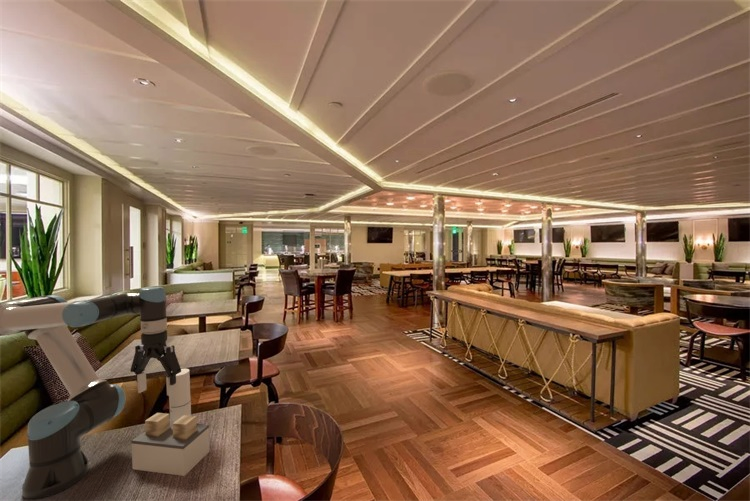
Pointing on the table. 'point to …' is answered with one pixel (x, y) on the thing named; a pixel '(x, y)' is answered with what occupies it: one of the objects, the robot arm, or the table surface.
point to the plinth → (170, 451)
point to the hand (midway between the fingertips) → (156, 392)
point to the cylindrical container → (180, 396)
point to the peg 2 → (184, 427)
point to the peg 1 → (157, 424)
